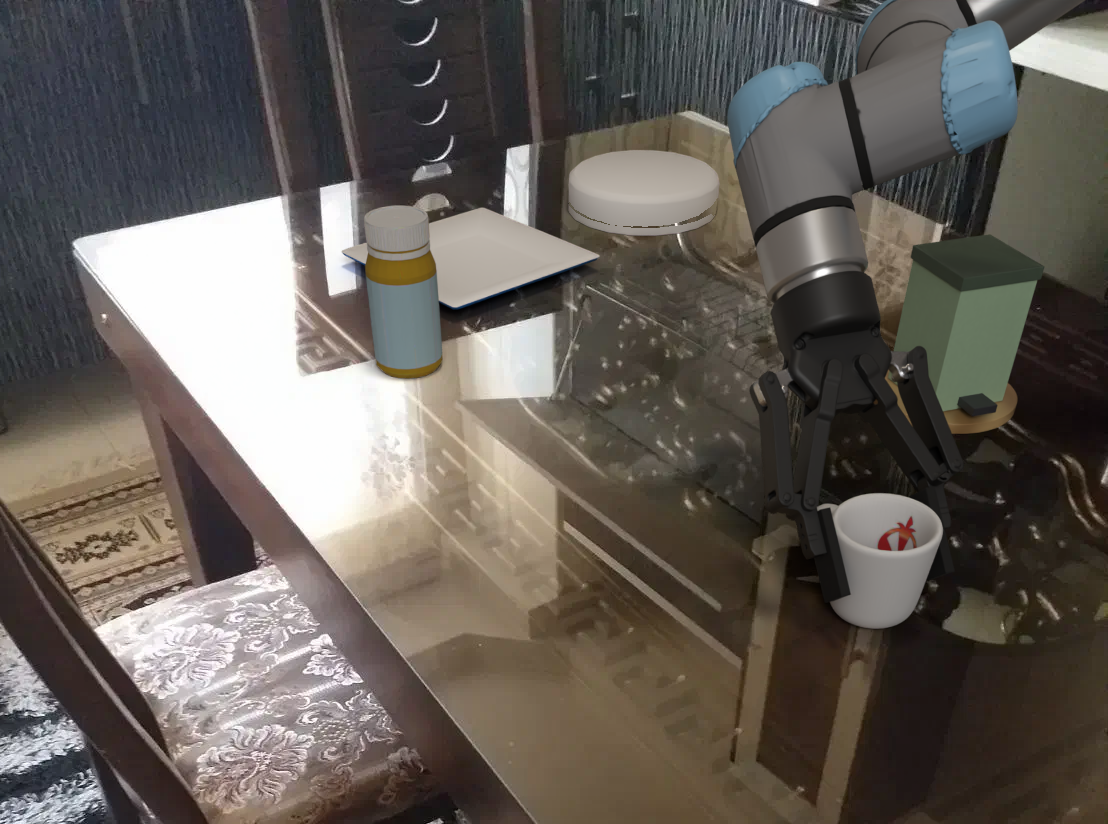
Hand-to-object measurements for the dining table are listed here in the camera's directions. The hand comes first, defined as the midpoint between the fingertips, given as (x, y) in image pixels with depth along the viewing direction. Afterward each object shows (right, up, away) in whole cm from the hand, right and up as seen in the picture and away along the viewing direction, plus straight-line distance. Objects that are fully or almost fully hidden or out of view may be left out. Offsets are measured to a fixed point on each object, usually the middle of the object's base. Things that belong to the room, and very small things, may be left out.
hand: (889, 587), depth 85 cm
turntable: (+14, +23, +29) cm, 40 cm away
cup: (-1, 0, +5) cm, 5 cm away
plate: (-35, +46, +54) cm, 79 cm away
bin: (+14, +23, +28) cm, 39 cm away
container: (-13, +60, +69) cm, 92 cm away
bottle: (-40, +28, +35) cm, 60 cm away
